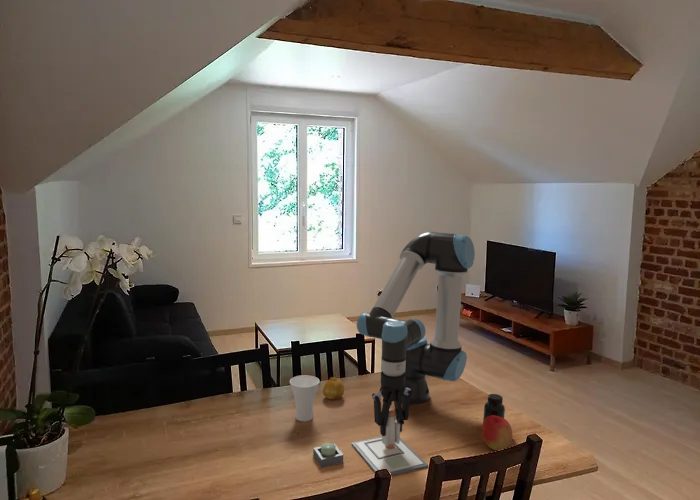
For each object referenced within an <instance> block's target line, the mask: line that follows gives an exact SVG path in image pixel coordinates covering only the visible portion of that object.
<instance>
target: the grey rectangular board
mask: <svg viewBox="0 0 700 500" xmlns="http://www.w3.org/2000/svg"><path fill="white" fill-rule="evenodd" d="M350 444H351V446H352V447H353V448H354V449H355V451H356V452H357V453H358V454H359V455H360V456H361V458H362V459H363V460H364V461H365V463H366V464H367V465H368V466H369V467H370V469H371V470H372V472H373V473H375V471H377V470H381V469H387V470H388V471H389V472H390V473H391V475H392V476H396V475H401V474H405V473H409V472H412V471H413V472H414V471H417V470H420V469H425V468H426V469H427V468H428V467H429V465H428V463H427V462H426V461H424V459H422V457H420V455H418V454H417V453H416V451H414V450H413V449H412V448H411V447H410V446H409V445H408V444H407V443H406V442H405V441H404V440H403V439H402V438H401V437H400V443H399V444H397V443H396V442H395V447H394V448H392V449H388V448H386V447H385V445H384V444H383V443H382V436H378V437H372V438H368V439H363V440H359V441H353V442H351V443H350ZM392 476H391V477H392Z"/></svg>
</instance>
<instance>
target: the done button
mask: <svg viewBox="0 0 700 500" xmlns="http://www.w3.org/2000/svg"><path fill="white" fill-rule="evenodd" d="M334 444H335V443H332V442H326V443H325V442H324V443H323V444H321V455H322V456H323V457H328V456H332V455H335V452H336V446H337V445H336V444H335V445H336V446H335V445H334Z"/></svg>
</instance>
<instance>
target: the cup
mask: <svg viewBox="0 0 700 500" xmlns="http://www.w3.org/2000/svg"><path fill="white" fill-rule="evenodd" d="M320 382H321V381H320V379H319V378H318V377H316V376H314V375H310V374H309V375H308V374H306V375H304V374H303V375H302V374H301V375H296V376H294V377H291V378H290V379H289V385H290V388H291V390H292V394H293V398H294V405H295V413H294V414H295V415H294V418H295V420H297V421H299V422H310V421H312V420H313V419H314V418H315V417H314V403H315V397H316V393H317V391H318V388H319V384H320Z"/></svg>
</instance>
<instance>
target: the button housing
mask: <svg viewBox="0 0 700 500" xmlns="http://www.w3.org/2000/svg"><path fill="white" fill-rule="evenodd" d="M333 444H334V445H335V446H336V452H335V455H332V456H328V457H323V456H322V455H321V446H316V447H313V449H312V450H313V451H312V452H313V453H312V454H313V455H312V456H313V457H314V459H315V461H316V462H317V463H318V465H319V467H320V468H325V467H330V466H334V465H339V464H343V463H344V453H343V452H342V451H341V450H340V449H339V447H338V446H337V444H335V443H333Z"/></svg>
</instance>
